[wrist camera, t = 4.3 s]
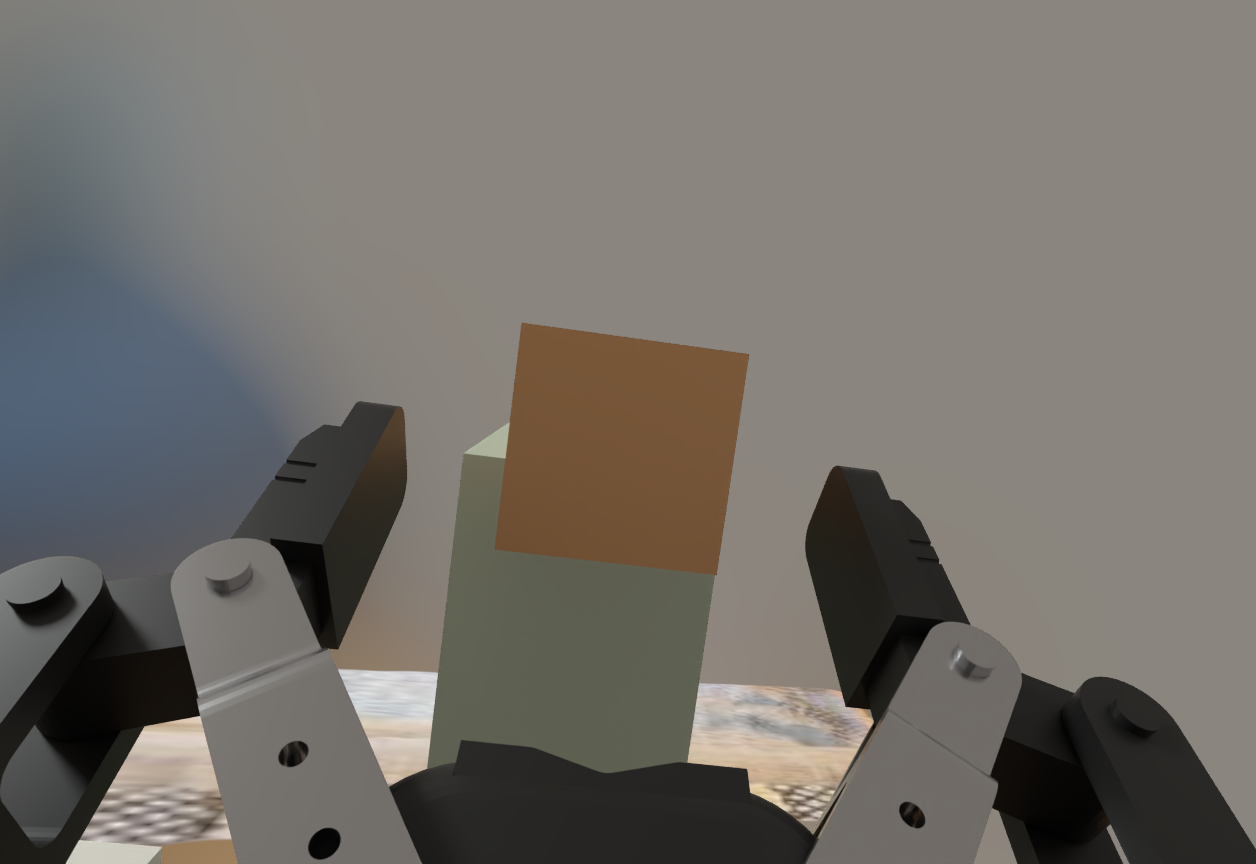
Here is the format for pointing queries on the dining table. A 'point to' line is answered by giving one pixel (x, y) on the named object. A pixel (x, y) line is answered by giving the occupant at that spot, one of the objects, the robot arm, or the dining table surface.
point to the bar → (620, 449)
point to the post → (114, 853)
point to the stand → (562, 645)
